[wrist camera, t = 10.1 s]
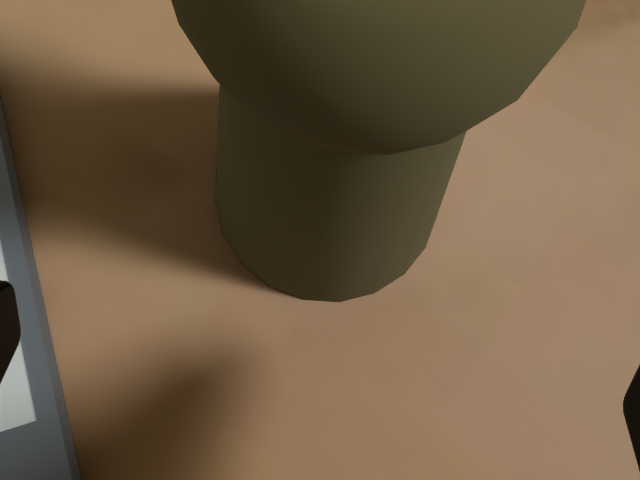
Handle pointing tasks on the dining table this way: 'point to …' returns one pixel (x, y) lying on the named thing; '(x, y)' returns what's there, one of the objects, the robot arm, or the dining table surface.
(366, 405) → the dining table surface
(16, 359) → the label plate
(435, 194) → the olive game pawn
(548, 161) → the dining table surface
